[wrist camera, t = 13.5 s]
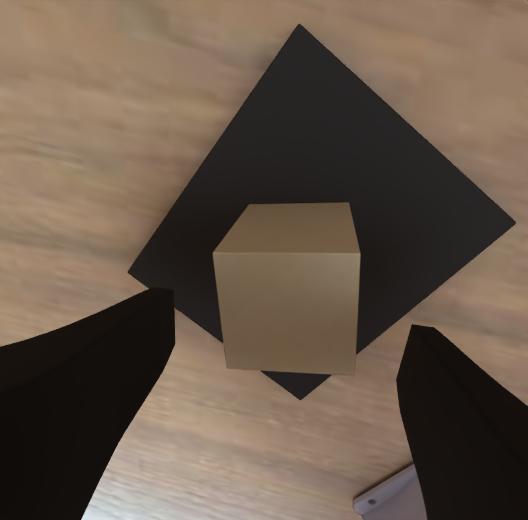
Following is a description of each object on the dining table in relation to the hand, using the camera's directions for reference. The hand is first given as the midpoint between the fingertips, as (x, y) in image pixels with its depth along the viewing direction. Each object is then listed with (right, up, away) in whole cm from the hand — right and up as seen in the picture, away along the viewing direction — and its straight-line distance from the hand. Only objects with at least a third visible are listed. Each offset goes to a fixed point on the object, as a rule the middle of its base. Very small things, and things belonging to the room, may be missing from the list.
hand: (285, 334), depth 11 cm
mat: (+1, +3, +7) cm, 8 cm away
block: (+1, +3, +6) cm, 7 cm away
